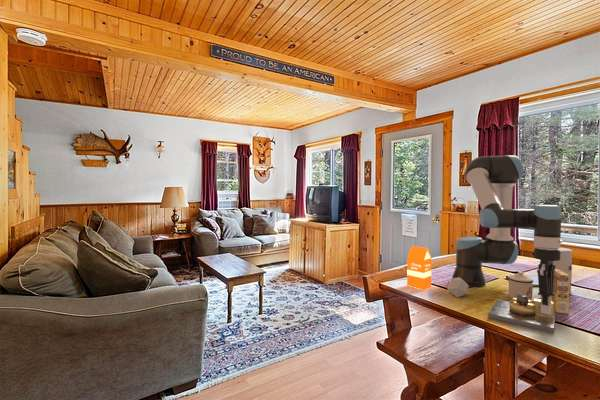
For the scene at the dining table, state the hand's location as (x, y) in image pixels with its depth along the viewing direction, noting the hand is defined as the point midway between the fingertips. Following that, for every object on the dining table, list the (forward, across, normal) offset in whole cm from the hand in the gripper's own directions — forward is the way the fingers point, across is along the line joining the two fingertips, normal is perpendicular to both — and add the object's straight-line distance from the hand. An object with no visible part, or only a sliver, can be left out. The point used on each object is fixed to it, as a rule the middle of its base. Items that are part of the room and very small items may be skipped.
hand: (545, 313), depth 111 cm
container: (+3, +48, +7) cm, 49 cm away
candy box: (+4, +20, +1) cm, 20 cm away
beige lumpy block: (+2, +1, +5) cm, 5 cm away
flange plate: (+4, 0, +7) cm, 8 cm away
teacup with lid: (+4, +25, +15) cm, 29 cm away
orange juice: (+4, +4, +52) cm, 52 cm away
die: (+4, +6, +34) cm, 34 cm away
